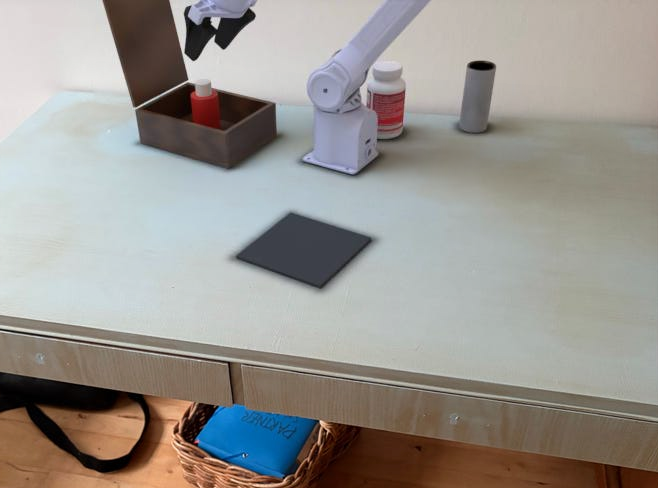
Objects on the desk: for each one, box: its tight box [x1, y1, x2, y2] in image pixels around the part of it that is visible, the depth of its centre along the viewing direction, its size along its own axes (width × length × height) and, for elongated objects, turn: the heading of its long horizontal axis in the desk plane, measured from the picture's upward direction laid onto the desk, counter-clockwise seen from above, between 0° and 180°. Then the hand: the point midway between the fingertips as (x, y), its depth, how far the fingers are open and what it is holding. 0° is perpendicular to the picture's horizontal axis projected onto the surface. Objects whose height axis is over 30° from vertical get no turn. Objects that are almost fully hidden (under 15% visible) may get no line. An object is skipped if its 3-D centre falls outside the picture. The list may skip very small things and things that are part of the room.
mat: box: [235, 212, 372, 289], centre depth 99 cm, size 13×13×1 cm
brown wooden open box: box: [134, 81, 278, 170], centre depth 124 cm, size 19×14×6 cm
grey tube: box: [459, 59, 497, 134], centre depth 122 cm, size 4×4×10 cm
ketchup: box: [190, 78, 221, 130], centre depth 122 cm, size 4×4×9 cm
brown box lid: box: [101, 0, 189, 109], centre depth 121 cm, size 19×14×4 cm
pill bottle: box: [365, 60, 407, 140], centre depth 122 cm, size 6×6×11 cm
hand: (205, 51), depth 118 cm, fingers open, 7 cm apart
